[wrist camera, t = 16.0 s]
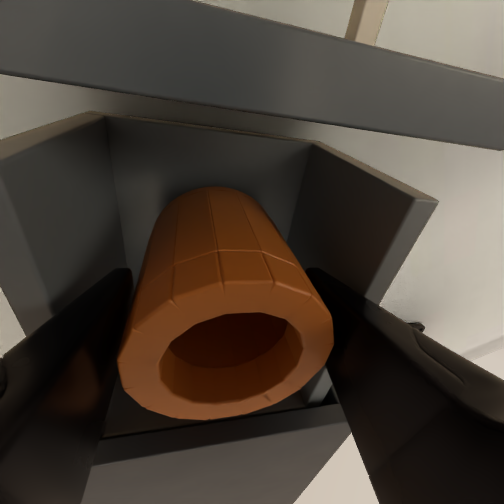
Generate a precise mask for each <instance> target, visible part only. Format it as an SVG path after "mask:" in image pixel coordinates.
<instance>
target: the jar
mask: <svg viewBox="0 0 504 504" xmlns="http://www.w3.org/2000/svg"><path fill="white" fill-rule="evenodd" d="M333 346H334V334H333V323H332V317H331V314H330V312H329V310H328V309H327V307H326V306H325V304H324V302H323V301H322V299H321V298H320V296H319V294H318V293H317V291H316V290H315V288H314V286H313V285H312V283H311V281H310V280H309V278H308V277H307V275H306V273H305V272H304V270H303V268H302V267H301V265H300V264H299V262H298V260H297V259H296V257H295V256H294V254H293V252H292V251H291V249H290V248H289V246H288V244H287V243H286V241H285V240H284V238H283V236H282V235H281V233H280V232H279V230H278V228H277V227H276V225H275V224H274V222H273V220H272V219H271V218H270V217H269V215H268V214H267V213H266V211H265V210H264V208H263V207H262V206H261V205H260V204H259V203H258V202H257V201H256V200H255V199H253V198H252V197H250V196H249V195H247V194H245V193H243V192H241V191H238V190H235V189H231V188H226V187H203V188H198V189H194V190H191V191H189V192H186V193H184V194H182V195H180V196H179V197H177V198H175V199H174V200H173V201H171V202H170V203H169V204H168V205H167V206H166V207H165V208H164V209H163V210H162V212H161V213H160V215H159V216H158V218H157V220H156V222H155V224H154V227H153V230H152V233H151V235H150V238H149V241H148V245H147V248H146V252H145V256H144V259H143V263H142V267H141V270H140V274H139V278H138V281H137V285H136V288H135V292H134V296H133V299H132V303H131V307H130V310H129V314H128V319H127V322H126V325H125V329H124V332H123V336H122V340H121V343H120V347H119V351H118V354H117V366H118V371H119V375H120V380H121V384H122V387H123V389H124V391H125V392H126V393H128V394H129V395H130V396H131V397H132V398H133V399H134V400H135V401H137V402H138V403H139V404H140V405H141V406H142V407H145V408H146V409H148V410H151V411H154V412H157V413H160V414H163V415H166V416H169V417H172V418H174V417H175V418H178V419H195V420H208V419H218V418H224V417H231V416H238V415H241V414H247V413H250V412H253V411H256V410H259V409H262V408H264V407H267V406H270V405H273V404H276V403H277V402H279V401H281V400H283V399H284V398H286V397H288V396H289V395H291V394H293V393H294V392H296V391H298V390H300V389H301V388H302V386H304V385H305V384H306V383H307V382H308V381H309V380H310V379H311V378H312V377H313V376H314V375H315V374H316V373H317V372H318V371H319V370H320V369H321V368H322V367H323V366H324V365H325V363H326V360H327V358H328V356H329V354H330V352H331V350H332V348H333Z"/></svg>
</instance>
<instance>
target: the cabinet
mask: <svg viewBox="0 0 504 504" xmlns="http://www.w3.org/2000/svg"><path fill="white" fill-rule="evenodd" d="M350 434H351V430H350V427H349V425H348V422H347V420H346V417H345V415H344V412H343V409H342V407H341V404H340V402H339V399H338V397H337V394H336V392H335V389H334V387H333V384H332V385H331V387H330V389H329V390H328V392H327V394H326V395H325V397H324V399H323V401H322V402H321V404H320V406H319V407H313V408H307V409H300V410H294V411H287V412H281V413H274V414H268V415H261V416H254V417H248V418H241V419H235V420H228V421H222V422H215V423H209V424H202V425H195V426H189V427H182V428H176V429H169V430H163V431H156V432H149V433H143V434H136V435H130V436H123V437H117V438H110V439H104V440H99V443H98V446H97V450H96V453H95V457H94V460H93V464H92V467H91V471H90V474H89V478H88V481H87V485H86V488H85V492H84V495H83V499H82V502H81V504H293V503H294V502H295V501H296V500H297V498H298V497H299V496H300V495H301V493H302V492H303V491H304V490H305V488H306V487H307V486H308V485H309V484H310V482H311V481H312V480H313V478H314V477H315V476H316V475H317V474H318V473H319V471H320V470H321V469H322V468H323V467H324V465H325V464H326V463H327V462H328V460H329V459H330V458H331V457H332V456H333V454H334V453H335V452H336V451H337V449H338V448H339V447H340V446H341V445H342V443H343V442H344V441H345V440H346V438H347V437H348V436H349V435H350Z"/></svg>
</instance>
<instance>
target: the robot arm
mask: <svg viewBox="0 0 504 504" xmlns="http://www.w3.org/2000/svg"><path fill="white" fill-rule="evenodd" d="M305 273H306V275H307V277H308V278H309V280H310V281H311V283H312V285H313V286H314V288H315V290H316V291H317V293H318V294H319V296H320V298H321V299H322V301H323V302H324V304H325V306H326V307H327V309H328V310H329V312H330V314H331V317H332V323H333V334H334V346H333V348H332V350H331V352H330V354H329V356H328V358H327V360H326V363H325V366H326V369H327V371H328V374H329V376H330V379H331V382H332V384H333V387H334V389H335V392H336V394H337V397H338V399H339V402H340V404H341V407H342V409H343V412H344V415H345V417H346V420H347V422H348V425H349V427H350V430H351V432H352V435H353V437H354V440H355V442H356V445H357V448H358V450H359V453H360V455H361V457H362V460H363V463H364V465H365V468H366V470H367V473H368V475H369V479H370V481H371V484H372V486H373V489H374V491H375V494H376V496H377V499H378V501H379V504H504V380H502V379H501V378H498V377H497V376H495V375H493V374H492V373H490V372H488V371H486V370H484V369H483V368H481V367H479V366H477V365H476V364H474V363H472V362H470V361H469V360H467V359H465V358H463V357H462V356H460V355H458V354H456V353H455V352H453V351H451V350H449V349H448V348H446V347H444V346H443V345H441V344H439V343H438V342H436V341H434V340H433V339H431V338H430V337H428V336H426V335H425V334H423V333H422V332H423V330H424V329H425V327H424V326H423V325H422V324H421V323H417V324H407V323H406V322H404V321H402V320H401V319H399V318H398V317H396V316H395V315H393V314H391V313H390V312H388V311H387V310H385V309H383V308H382V307H380V306H379V305H377V304H376V303H374V302H372V301H371V300H369V299H368V298H366V297H364V296H363V295H361V294H360V293H358V292H356V291H355V290H353V289H352V288H350V287H349V286H347V285H345V284H344V283H342V282H341V281H339V280H337V279H336V278H334V277H333V276H331V275H330V274H328V273H326V272H325V271H323V270H322V269H320V268H317V267H309V268H307V269H306V271H305ZM133 296H134V283H133V276H132V271H131V269H130V268H115V269H113V270H112V271H111V272H110V273H108V274H107V275H106V276H104V277H103V278H102V279H101V280H99V281H98V282H97V283H95V284H94V285H93V286H92V287H90V288H89V289H88V290H86V291H85V292H84V293H83V294H81V295H80V296H79V297H77V298H76V299H75V300H74V301H72V302H71V303H70V304H68V305H67V306H66V307H65V308H63V309H62V310H61V311H59V312H58V313H57V314H56V315H54V316H53V317H52V318H50V319H49V320H48V321H46V322H45V323H44V324H43V325H41V326H40V327H39V328H37V329H36V330H35V331H34V332H32V333H31V334H30V335H28V336H27V337H26V338H25V339H23V340H22V341H21V342H19V343H18V344H17V345H16V346H14V347H13V348H12V349H10V350H9V351H8V352H7V353H5V354H4V355H3V358H0V504H81V502H82V499H83V495H84V492H85V488H86V485H87V481H88V478H89V474H90V471H91V467H92V464H93V460H94V457H95V453H96V450H97V446H98V443H99V439H100V436H101V432H102V429H103V425H104V422H105V418H106V415H107V411H108V408H109V404H110V401H111V397H112V394H113V390H114V387H115V383H116V380H117V376H118V372H119V371H118V366H117V354H118V351H119V347H120V343H121V340H122V336H123V332H124V329H125V325H126V322H127V319H128V314H129V310H130V307H131V303H132V299H133Z"/></svg>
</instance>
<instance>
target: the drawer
mask: <svg viewBox="0 0 504 504" xmlns="http://www.w3.org/2000/svg"><path fill="white" fill-rule="evenodd" d="M388 2H389V0H355V1H354V5H353V9H352V12H351V16H350V20H349V24H348V27H347V31H346V35H345V38H340V37H336V36H332V35H328V34H324V33H320V32H316V31H312V30H308V29H304V28H300V27H296V26H292V25H288V24H284V23H281V22H277V21H273V20H269V19H265V18H261V17H257V16H253V15H249V14H245V13H241V12H237V11H233V10H229V9H225V8H221V7H217V6H213V5H209V4H205V3H201V2H197V1H193V0H0V74H3V75H9V76H16V77H22V78H29V79H35V80H42V81H48V82H55V83H62V84H68V85H75V86H81V87H88V88H94V89H101V90H107V91H114V92H120V93H127V94H133V95H140V96H146V97H153V98H159V99H166V100H172V101H179V102H185V103H192V104H198V105H205V106H211V107H218V108H224V109H231V110H237V111H244V112H250V113H257V114H264V115H270V116H277V117H283V118H290V119H296V120H303V121H309V122H316V123H322V124H329V125H335V126H342V127H348V128H355V129H361V130H368V131H374V132H381V133H387V134H394V135H400V136H407V137H413V138H420V139H426V140H433V141H439V142H446V143H453V144H459V145H466V146H472V147H479V148H485V149H492V150H498V151H501V150H504V79H503V78H499V77H495V76H491V75H487V74H483V73H479V72H475V71H471V70H467V69H463V68H459V67H456V66H452V65H448V64H444V63H440V62H436V61H432V60H428V59H424V58H420V57H416V56H412V55H408V54H404V53H400V52H396V51H392V50H388V49H384V48H380V47H376V46H374V45H375V42H376V39H377V36H378V33H379V30H380V26H381V23H382V20H383V17H384V14H385V11H386V8H387V5H388ZM203 187H226V188H231V189H235V190H238V191H241V192H243V193H245V194H247V195H249V196H250V197H252V198H253V199H255V200H256V201H257V202H258V203H259V204H260V205H261V206H262V207H263V208H264V210H265V211H266V213H267V214H268V215H269V217H270V218H271V219H272V220H273V222H274V224H275V225H276V227H277V228H278V230H279V232H280V233H281V235H282V236H283V238H284V240H285V241H286V243H287V244H288V246H289V248H290V249H291V251H292V252H293V254H294V256H295V257H296V259H297V260H298V262H299V264H300V265H301V267H302V268H303V270H304V272H305V271H306V269H307V268H309V267H317V268H320V269H322V270H323V271H325V272H326V273H328V274H330V275H331V276H333V277H334V278H336V279H337V280H339V281H341V282H342V283H344V284H345V285H347V286H349V287H350V288H352V289H353V290H355V291H356V292H358V293H360V294H361V295H363V296H364V297H366V298H368V299H369V300H371V301H372V302H374V303H376V304H377V305H379V303H380V302H381V300H382V298H383V297H384V295H385V293H386V291H387V290H388V288H389V286H390V285H391V283H392V281H393V280H394V278H395V276H396V274H397V273H398V271H399V269H400V268H401V266H402V264H403V262H404V261H405V259H406V257H407V256H408V254H409V252H410V251H411V249H412V247H413V245H414V244H415V242H416V240H417V239H418V237H419V235H420V234H421V232H422V230H423V228H424V227H425V225H426V223H427V222H428V220H429V218H430V216H431V215H432V213H433V211H434V210H435V208H436V206H437V205H438V202H439V201H438V200H437V199H435V198H433V197H431V196H429V195H427V194H425V193H423V192H421V191H419V190H417V189H415V188H412V187H410V186H408V185H406V184H404V183H402V182H400V181H398V180H396V179H394V178H392V177H390V176H388V175H386V174H384V173H382V172H380V171H378V170H376V169H374V168H372V167H370V166H368V165H366V164H364V163H362V162H360V161H358V160H356V159H354V158H352V157H350V156H348V155H346V154H344V153H342V152H340V151H338V150H336V149H334V148H332V147H330V146H328V145H325V144H324V143H322V142H320V141H313V140H305V139H298V138H290V137H283V136H275V135H268V134H260V133H253V132H245V131H238V130H230V129H223V128H215V127H208V126H200V125H193V124H186V123H178V122H171V121H163V120H156V119H148V118H141V117H133V116H126V115H118V114H111V113H103V112H96V111H87V112H84V113H80V114H77V115H74V116H71V117H68V118H65V119H62V120H59V121H56V122H53V123H50V124H47V125H44V126H41V127H38V128H35V129H32V130H29V131H26V132H23V133H20V134H17V135H14V136H11V137H8V138H5V139H2V140H0V287H1V289H2V290H3V292H4V294H5V296H6V298H7V300H8V302H9V304H10V306H11V308H12V310H13V312H14V314H15V315H16V317H17V319H18V321H19V323H20V325H21V327H22V329H23V331H24V333H25V335H26V337H27V336H28V335H30V334H31V333H32V332H34V331H35V330H36V329H37V328H39V327H40V326H41V325H43V324H44V323H45V322H46V321H48V320H49V319H50V318H52V317H53V316H54V315H56V314H57V313H58V312H59V311H61V310H62V309H63V308H65V307H66V306H67V305H68V304H70V303H71V302H72V301H74V300H75V299H76V298H77V297H79V296H80V295H81V294H83V293H84V292H85V291H86V290H88V289H89V288H90V287H92V286H93V285H94V284H95V283H97V282H98V281H99V280H101V279H102V278H103V277H104V276H106V275H107V274H108V273H110V272H111V271H112V270H113V269H115V268H130V269H131V271H132V276H133V283H134V292H135V288H136V285H137V281H138V278H139V274H140V270H141V267H142V263H143V259H144V256H145V252H146V248H147V245H148V241H149V238H150V235H151V233H152V230H153V227H154V224H155V222H156V220H157V218H158V216H159V215H160V213H161V212H162V210H163V209H164V208H165V207H166V206H167V205H168V204H169V203H170V202H171V201H173V200H174V199H175V198H177V197H179V196H180V195H182V194H184V193H186V192H189V191H191V190H194V189H198V188H203ZM331 385H332V382H331V379H330V376H329V374H328V371H327V369H326V366H325V365H324V366H323V367H322V368H321V369H320V370H319V371H318V372H317V373H316V374H315V375H314V376H313V377H312V378H311V379H310V380H309V381H308V382H307V383H306V384H305V385H304V386H302V388H301V389H300V390H298V391H296V392H294V393H293V394H291V395H289V396H288V397H286V398H284V399H283V400H281V401H279V402H277V403H276V404H273V405H270V406H267V407H264V408H262V409H259V410H256V411H253V412H250V413H247V414H241V415H238V416H231V417H224V418H218V419H208V420H195V419H178V418H175V417H174V418H172V417H169V416H166V415H163V414H160V413H157V412H154V411H151V410H148V409H146V408H145V407H142V406H141V405H140V404H139V403H138V402H137V401H135V400H134V399H133V398H132V397H131V396H130V395H129V394H128V393H126V392H125V391H124V389H123V387H122V384H121V380H120V375H119V372H118V376H117V380H116V383H115V387H114V390H113V394H112V397H111V401H110V404H109V408H108V411H107V415H106V418H105V422H104V425H103V429H102V432H101V436H100V439H99V440H104V439H110V438H117V437H123V436H130V435H136V434H143V433H149V432H156V431H163V430H169V429H176V428H182V427H189V426H195V425H202V424H209V423H215V422H222V421H228V420H235V419H241V418H248V417H254V416H261V415H268V414H274V413H281V412H287V411H294V410H300V409H307V408H313V407H319V406H320V404H321V402H322V401H323V399H324V397H325V395H326V394H327V392H328V390H329V389H330V387H331Z"/></svg>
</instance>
